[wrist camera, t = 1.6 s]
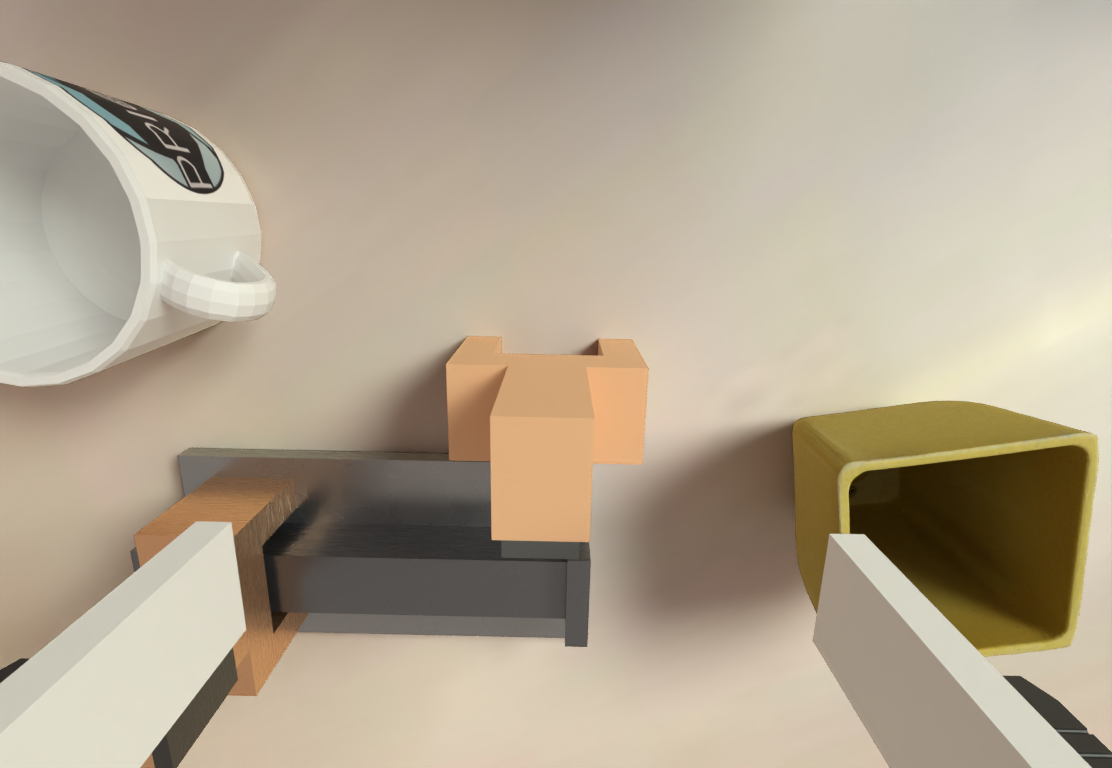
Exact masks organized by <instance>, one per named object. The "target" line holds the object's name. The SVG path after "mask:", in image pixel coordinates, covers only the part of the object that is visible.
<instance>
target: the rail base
mask: <svg viewBox="0 0 1112 768" xmlns="http://www.w3.org/2000/svg"><path fill="white" fill-rule="evenodd" d="M178 460H179V466H180V472H181V478H182V484H183V490H184V496H185V497H184V498H183V499H182V500H180V501H179V502H178V503H176V504H175V505H174V506H172V507H171V508H170V509H168V510H167V511H166V512H164V513H163V514H162V515H160V516H159V517H157V518H156V519H155V520H153V521H152V522H151V523H149V524H148V525H147V526H145V527H144V528H143V529H141V530H140V531H139V532H137V533H136V534H135V535H134V538H135V543H136V547H135V548H134V549H133V550H131V551H130V552H131V557H132V562H133V567H134V572H136V571H137V570H138V569H139V568H140V567H142V566H143V565H144V564H145V563H147V562H148V561H149V560H150V559H151V558H153V557H154V556H155V555H156V554H157V553H159V552H160V551H161V550H162V549H163V548H165V547H166V546H167V545H168V544H170V543H171V542H172V541H173V540H174V539H176V538H177V537H178V536H179V535H180V534H182V533H183V532H184V531H185V530H186V529H188V528H189V527H190V526H191V525H192V524H194V523H195V522H196V521H205V522H231V524H232V531H233V538H234V545H235V552H236V560H237V567H238V574H239V581H240V588H241V595H242V602H243V609H244V617H245V624H246V630H245V632H244V633H243V634H242V636H241V637H240V638H239V640H238V641H237V642H236V643H235V645H234V646H233V647H232V649H231V650H230V651H229V653H228V654H227V655H226V657H225V658H224V659H223V660H222V662H221V663H220V664H219V666H218V667H217V668H216V670H215V671H214V672H213V673H212V675H211V676H210V677H209V679H208V680H207V681H206V683H205V684H204V685H203V686H202V688H201V689H200V690H199V692H198V693H197V694H196V696H195V697H194V698H193V700H192V701H191V702H190V703H189V705H188V706H187V707H186V709H185V710H184V711H183V713H182V714H181V715H180V716H179V718H178V719H177V720H176V722H175V723H174V724H173V726H172V727H171V728H170V730H169V731H168V732H167V733H166V735H165V736H164V737H163V739H162V740H161V741H160V743H159V744H158V745H157V746H156V748H155V749H154V750H153V752H152V753H151V754H150V756H149V757H148V758H147V760H146V761H145V762H144V763H143V765H142V766H141V767H140V768H177V767H178V765H179V764H180V762H181V761H182V759H183V758H184V757H185V755H186V754H187V752H188V751H189V749H190V748H191V747H192V745H193V744H194V742H195V741H196V739H197V738H198V737H199V735H200V734H201V732H202V731H203V729H204V728H205V726H206V725H207V724H208V722H209V721H210V719H211V718H212V716H213V715H214V714H215V712H216V711H217V709H218V708H219V706H220V705H221V704H222V702H223V701H224V699H225V698H226V696H227V695H239V696H257V694H258V692H259V691H260V689H261V688H262V686H263V685H264V683H265V681H266V680H267V678H268V677H269V675H270V674H271V672H272V670H273V669H274V667H275V666H276V664H277V663H278V661H279V659H280V658H281V656H282V655H283V653H284V652H285V650H286V648H287V647H288V645H289V644H290V642H291V641H292V639H293V637H294V636H295V634H296V633H297V632H325V633H369V634H413V635H457V636H502V637H546V638H565V646H573V647H587V639H588V614H589V589H590V564H591V560H590V548H589V542H580V552H579V559H544V558H502V556H501V540H492V533H491V461H455V460H449V453H408V452H361V451H314V450H268V449H221V448H189V449H188V450H186V451H184V452H183V453H181V454H180V455H178Z"/></svg>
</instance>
